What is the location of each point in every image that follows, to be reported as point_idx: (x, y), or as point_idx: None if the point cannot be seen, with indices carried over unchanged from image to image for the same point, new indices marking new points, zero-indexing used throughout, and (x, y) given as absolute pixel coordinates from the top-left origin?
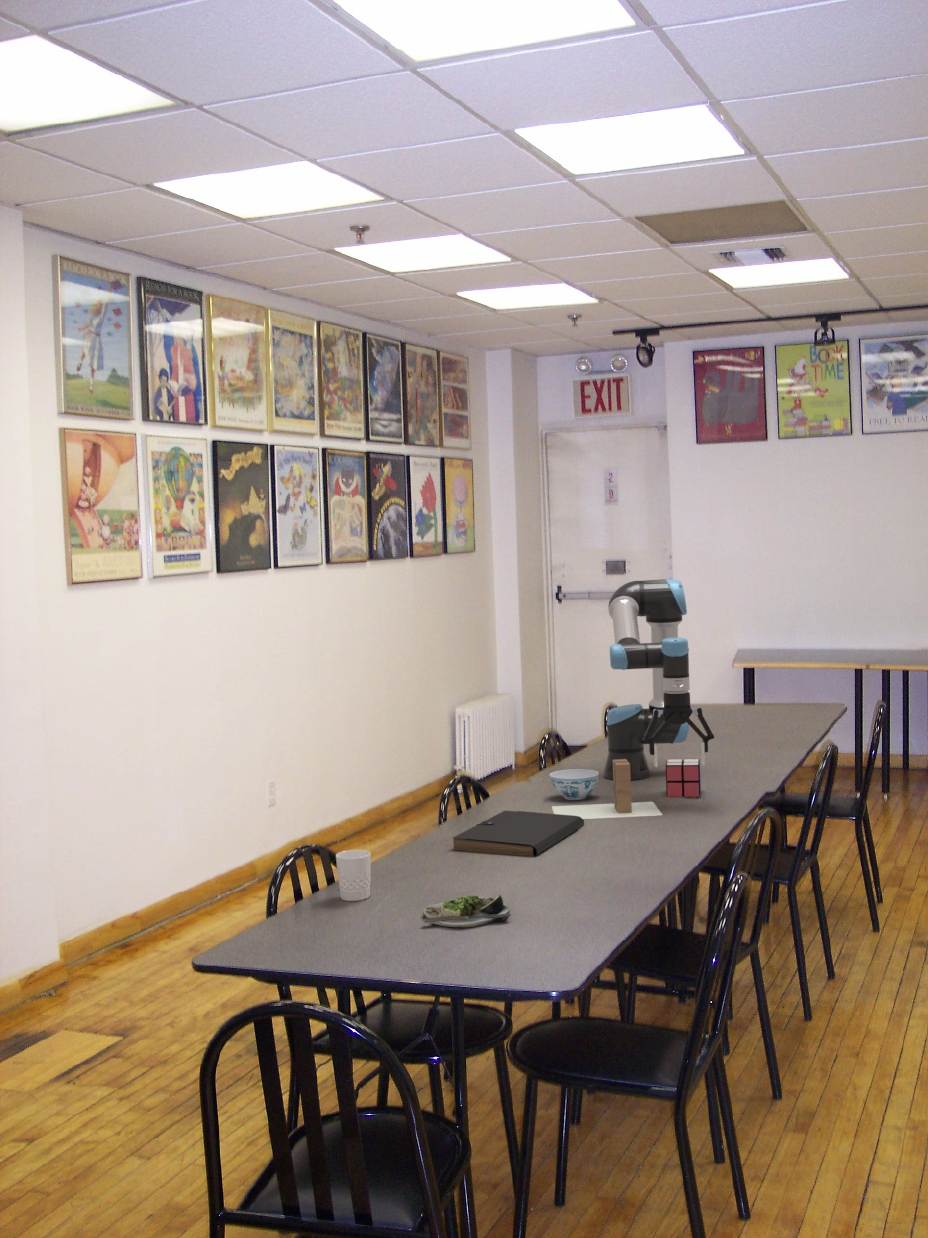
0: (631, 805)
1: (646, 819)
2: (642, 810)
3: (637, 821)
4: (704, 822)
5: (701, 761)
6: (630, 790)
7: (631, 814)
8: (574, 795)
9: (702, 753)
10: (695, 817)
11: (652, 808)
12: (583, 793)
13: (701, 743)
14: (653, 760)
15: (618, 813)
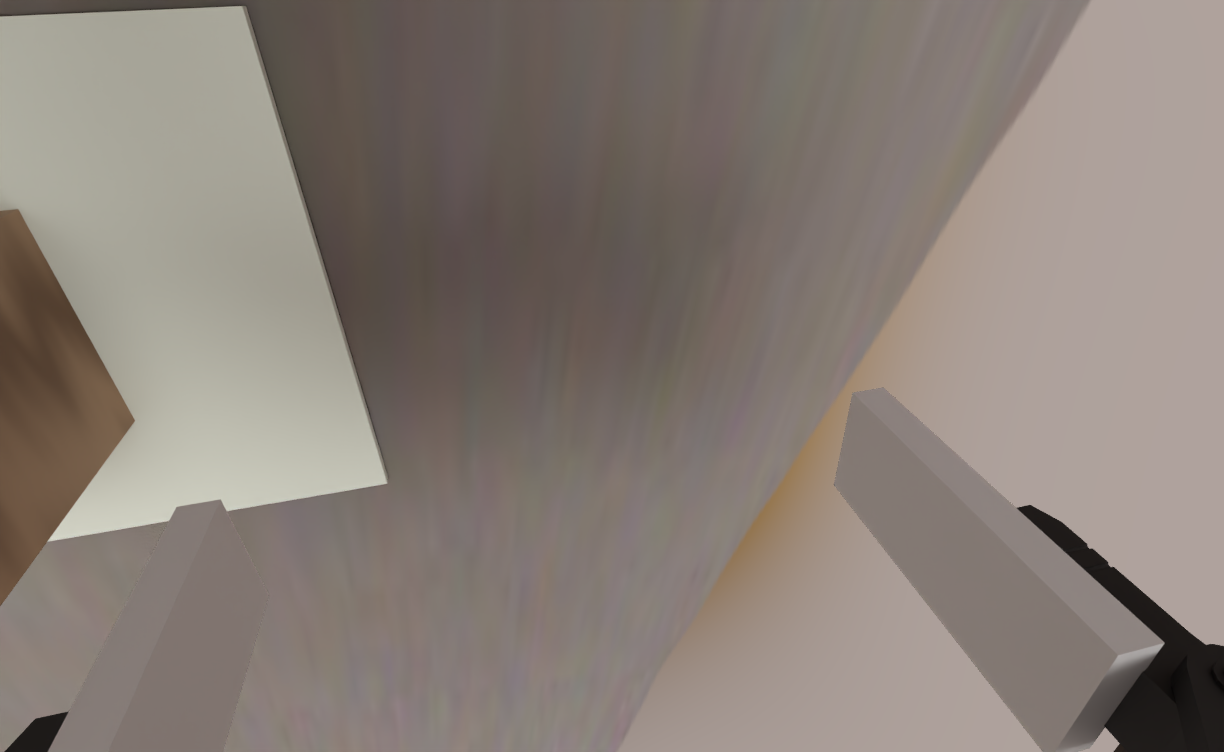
0: (108, 455)
1: (286, 533)
2: (210, 360)
3: None
4: (613, 568)
5: (859, 463)
6: (35, 550)
7: (148, 470)
8: None
9: (924, 590)
10: (584, 485)
11: (286, 301)
12: None
13: (1036, 724)
14: (146, 568)
15: None
